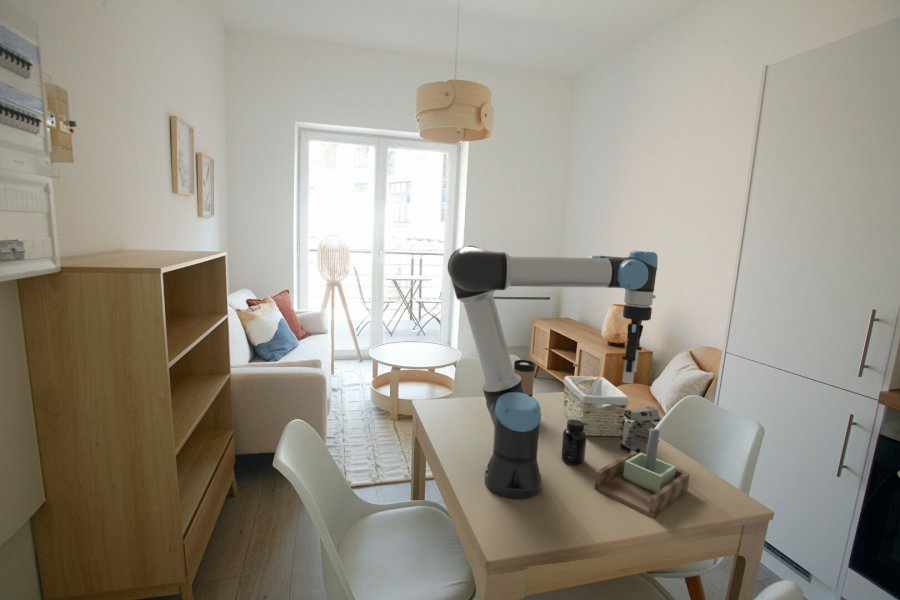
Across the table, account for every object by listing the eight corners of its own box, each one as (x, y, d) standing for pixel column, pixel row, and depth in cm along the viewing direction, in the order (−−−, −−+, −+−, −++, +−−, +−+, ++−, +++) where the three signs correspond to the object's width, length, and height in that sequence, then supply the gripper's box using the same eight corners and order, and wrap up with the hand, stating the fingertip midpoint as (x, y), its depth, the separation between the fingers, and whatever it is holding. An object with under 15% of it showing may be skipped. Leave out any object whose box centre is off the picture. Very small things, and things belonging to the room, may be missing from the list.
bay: (653, 518, 111) (655, 498, 111) (594, 488, 123) (596, 471, 122) (687, 491, 124) (689, 473, 124) (631, 467, 136) (633, 451, 136)
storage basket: (559, 411, 179) (562, 374, 177) (600, 412, 180) (604, 375, 177) (579, 437, 155) (583, 395, 153) (626, 439, 156) (631, 397, 154)
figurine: (662, 462, 141) (668, 415, 138) (624, 459, 141) (630, 413, 139) (650, 448, 150) (655, 404, 147) (614, 446, 150) (619, 402, 148)
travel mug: (508, 410, 176) (511, 359, 174) (527, 410, 177) (531, 360, 174) (513, 418, 169) (517, 365, 166) (533, 418, 170) (537, 365, 167)
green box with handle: (659, 494, 119) (665, 441, 117) (623, 478, 127) (628, 427, 125) (674, 483, 125) (680, 432, 123) (638, 468, 133) (644, 420, 131)
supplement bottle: (565, 452, 143) (569, 415, 142) (587, 459, 140) (591, 422, 138) (557, 460, 138) (560, 422, 136) (579, 468, 134) (583, 429, 132)
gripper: (650, 312, 119) (640, 390, 122) (653, 302, 142) (645, 368, 145) (619, 308, 122) (611, 385, 125) (627, 299, 145) (620, 364, 148)
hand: (629, 376), depth 135 cm, fingers open, 13 cm apart
